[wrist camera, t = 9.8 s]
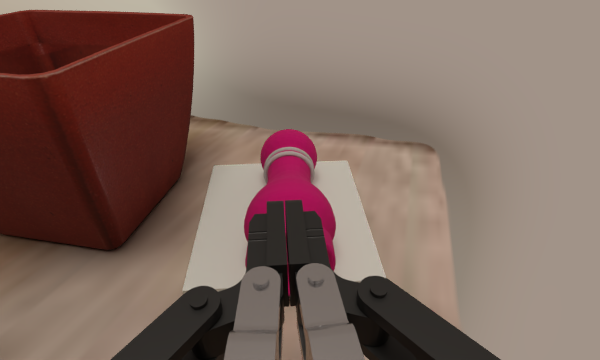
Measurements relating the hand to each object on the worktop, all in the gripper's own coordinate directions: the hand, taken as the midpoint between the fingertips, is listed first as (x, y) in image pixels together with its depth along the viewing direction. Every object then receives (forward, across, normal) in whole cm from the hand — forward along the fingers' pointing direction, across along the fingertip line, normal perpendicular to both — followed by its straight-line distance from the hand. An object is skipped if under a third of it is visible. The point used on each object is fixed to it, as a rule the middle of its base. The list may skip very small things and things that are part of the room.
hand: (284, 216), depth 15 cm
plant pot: (+19, +19, +13) cm, 30 cm away
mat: (+15, 0, +13) cm, 20 cm away
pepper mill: (+5, 0, +9) cm, 10 cm away
